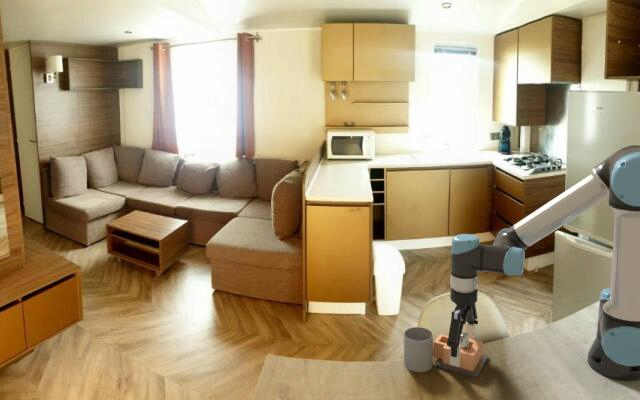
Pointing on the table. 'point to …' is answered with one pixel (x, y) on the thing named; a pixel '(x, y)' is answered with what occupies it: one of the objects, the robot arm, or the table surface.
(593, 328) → the table surface
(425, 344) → the cup
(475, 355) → the orange bottle-shaped mold
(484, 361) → the post base
